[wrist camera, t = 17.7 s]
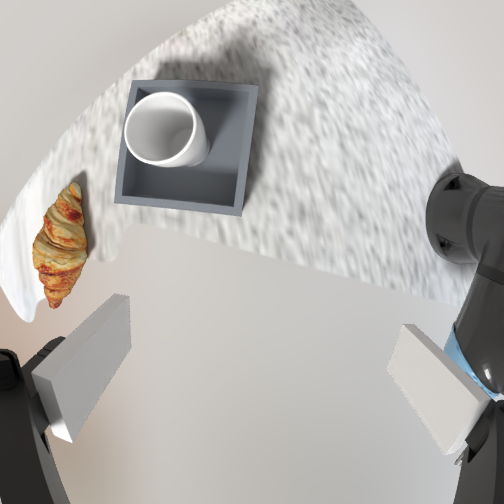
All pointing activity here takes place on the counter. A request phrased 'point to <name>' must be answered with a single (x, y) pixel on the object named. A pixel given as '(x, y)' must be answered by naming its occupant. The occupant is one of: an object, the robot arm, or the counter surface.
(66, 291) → the croissant
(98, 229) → the counter surface
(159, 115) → the white plastic tumbler
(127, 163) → the bin
